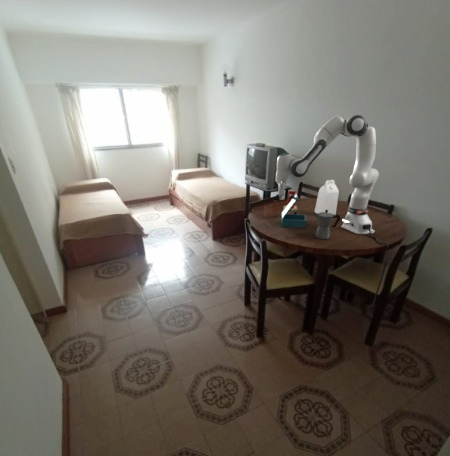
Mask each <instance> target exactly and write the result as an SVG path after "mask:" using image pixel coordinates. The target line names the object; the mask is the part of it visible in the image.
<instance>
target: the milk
mask: <svg viewBox="0 0 450 456" xmlns="http://www.w3.org/2000/svg"><path fill="white" fill-rule="evenodd" d="M339 194H340V191H339V188H338V186H337V185H336V182H335V179H327V180H326V181H325V183H324V185H322V186H321V187H320V188H319V190H318V193H317V198H316V202H315V207H314V214H316V213H321V212H325V210H328V212H327V213H332V214H336V215H337V209H338V203H339V202H338V201H339Z"/></svg>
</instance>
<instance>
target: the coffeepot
mask: <svg viewBox="0 0 450 456" xmlns="http://www.w3.org/2000/svg"><path fill="white" fill-rule="evenodd" d="M327 212H328V210H325V212H321V213H314V215H315V217H316V219H317V224H318V226H317V228H316V231H315V234H314V236H315V238H317V239H321V240H328V239H329V238H330V237H331V232H330V231H331V228H330V226H331V227H332V228H336V227H337V225H338V224H339V222H340V220H341V216H340V215H339V214H337V213H336V214H332V213H327ZM334 218H335V219H336V220H335V222H334V224H333V225H332V222H333V219H334Z"/></svg>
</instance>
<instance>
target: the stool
mask: <svg viewBox="0 0 450 456" xmlns="http://www.w3.org/2000/svg"><path fill="white" fill-rule="evenodd" d="M286 207H287V205H283V210H284V209H285V208H286ZM298 212H299V211H298V205H294V208H293V209H290V211H289V212H288V213H293V214H298Z"/></svg>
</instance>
